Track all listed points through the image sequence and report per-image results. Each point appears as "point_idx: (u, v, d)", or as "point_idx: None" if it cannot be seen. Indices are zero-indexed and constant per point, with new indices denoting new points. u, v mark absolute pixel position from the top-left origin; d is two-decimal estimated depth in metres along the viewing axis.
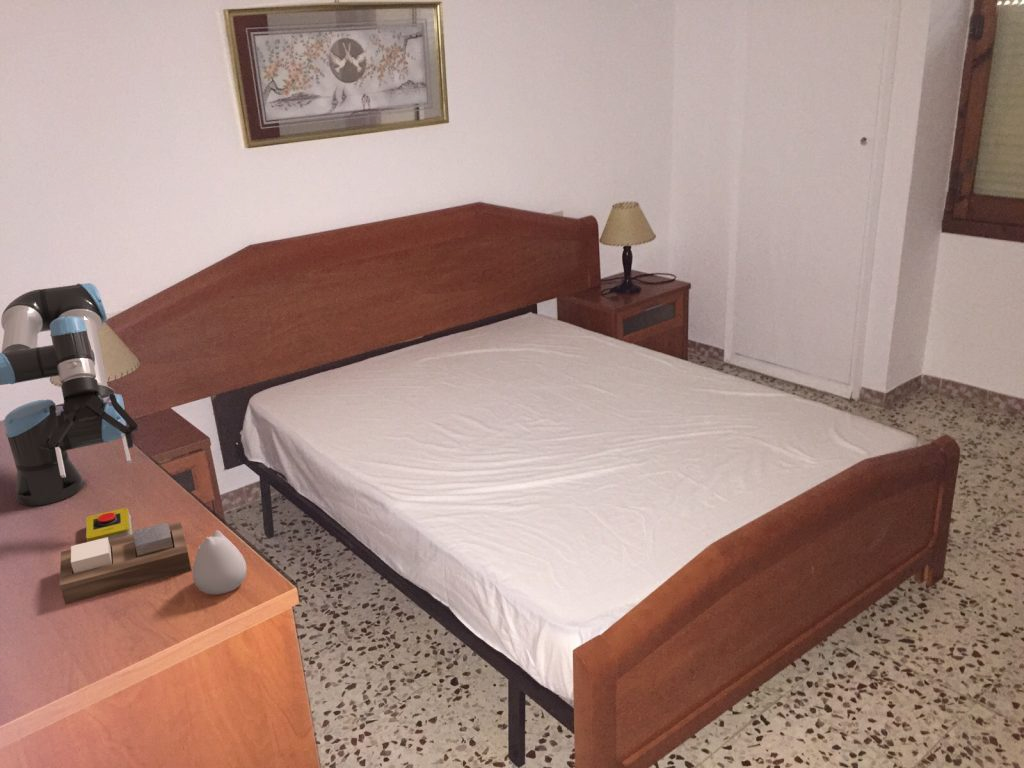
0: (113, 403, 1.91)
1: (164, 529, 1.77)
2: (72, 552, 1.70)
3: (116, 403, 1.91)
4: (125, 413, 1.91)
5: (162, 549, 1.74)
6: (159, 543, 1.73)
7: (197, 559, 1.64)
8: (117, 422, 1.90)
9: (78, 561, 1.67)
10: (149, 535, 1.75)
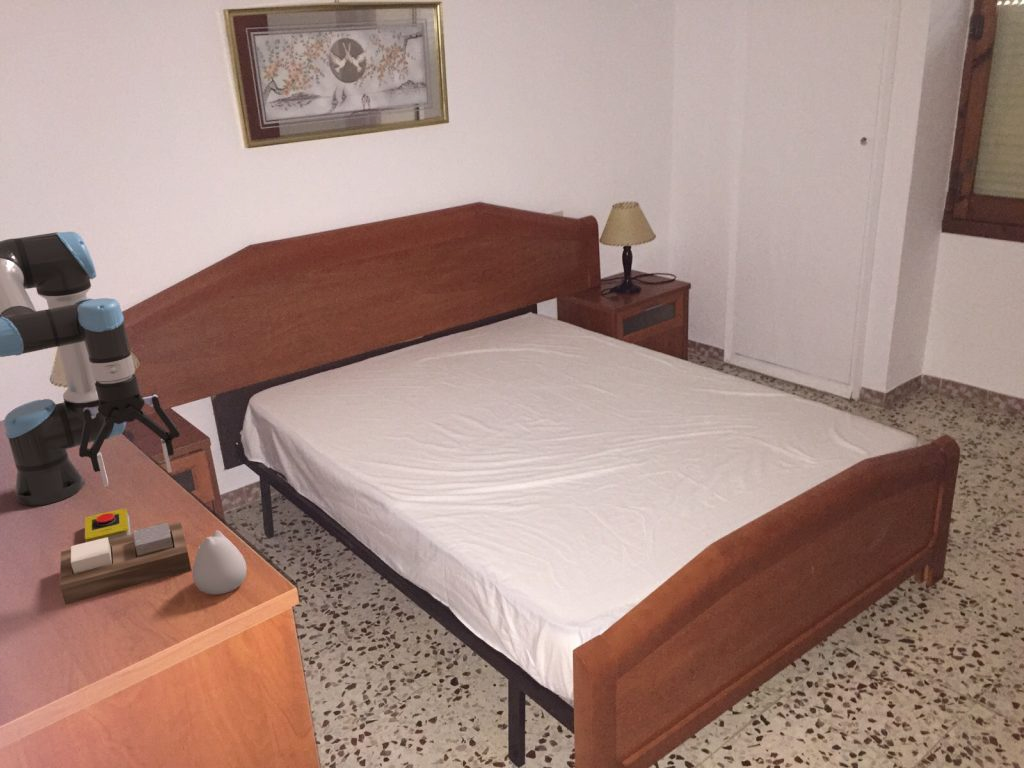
0: (155, 408, 1.67)
1: (164, 529, 1.77)
2: (72, 552, 1.70)
3: (159, 408, 1.67)
4: (167, 420, 1.69)
5: (162, 549, 1.74)
6: (159, 543, 1.73)
7: (197, 559, 1.64)
8: (158, 430, 1.69)
9: (78, 561, 1.67)
10: (149, 535, 1.75)
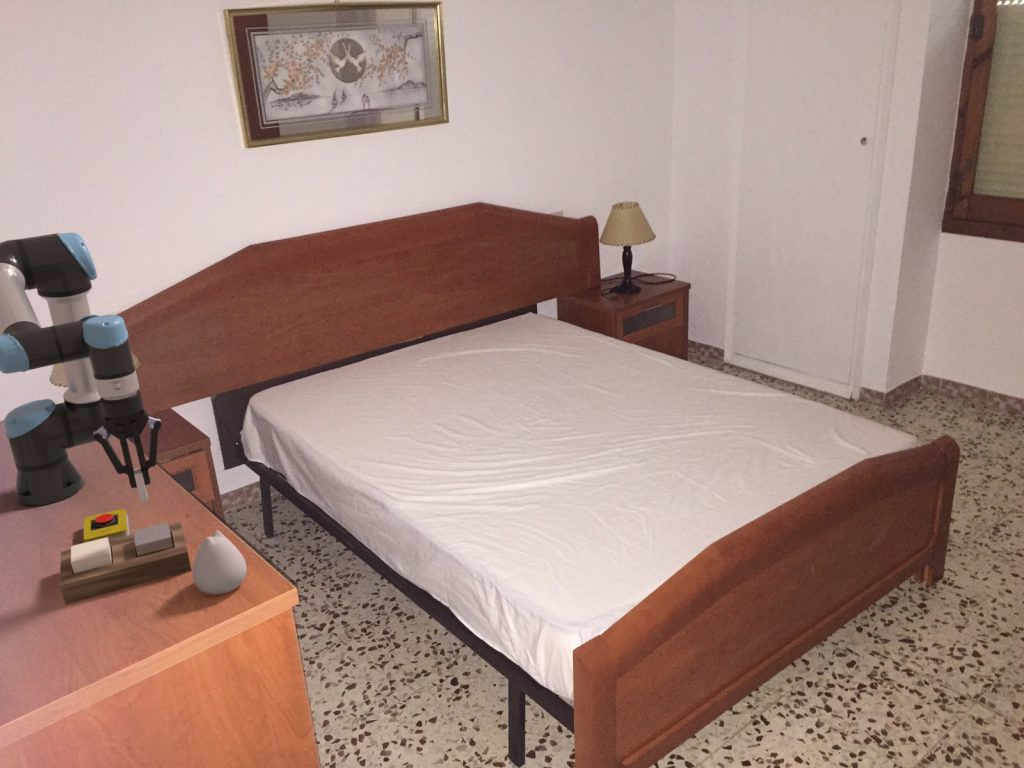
0: (153, 431, 1.68)
1: (164, 529, 1.77)
2: (72, 552, 1.70)
3: (156, 433, 1.68)
4: (155, 447, 1.69)
5: (162, 549, 1.74)
6: (159, 543, 1.73)
7: (197, 559, 1.64)
8: (142, 456, 1.68)
9: (78, 561, 1.67)
10: (149, 535, 1.75)
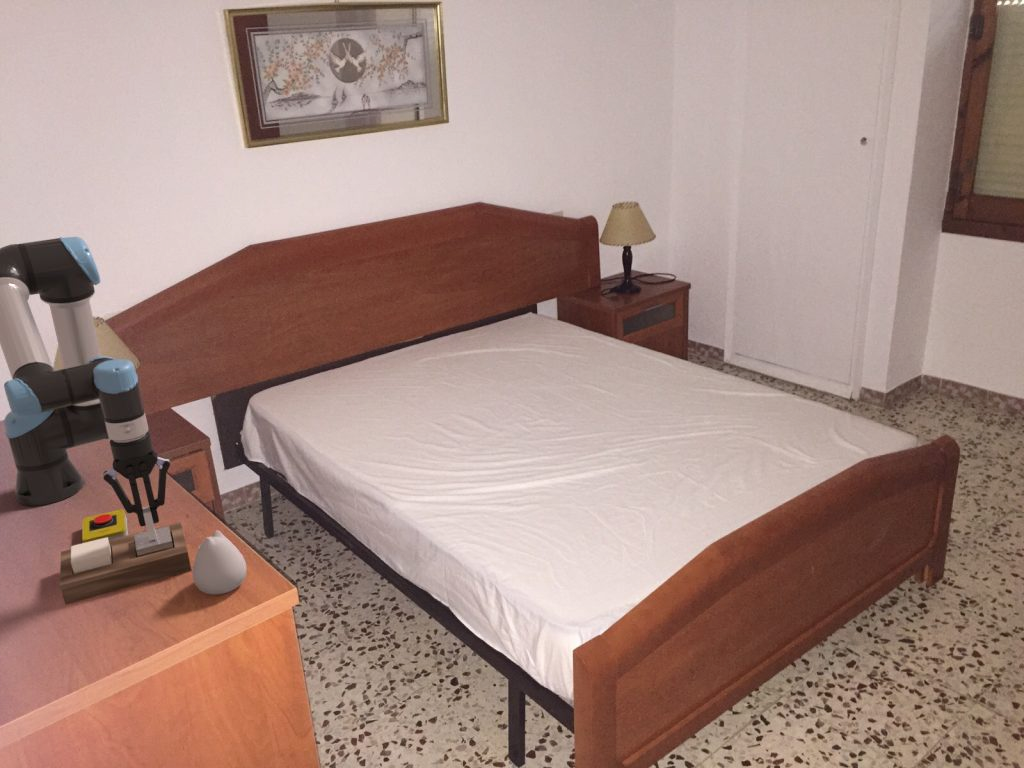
0: (162, 471, 1.71)
1: (165, 533, 1.78)
2: (72, 552, 1.70)
3: (164, 473, 1.72)
4: (163, 487, 1.72)
5: None
6: (160, 547, 1.74)
7: (197, 559, 1.64)
8: (151, 496, 1.72)
9: (78, 561, 1.67)
10: None
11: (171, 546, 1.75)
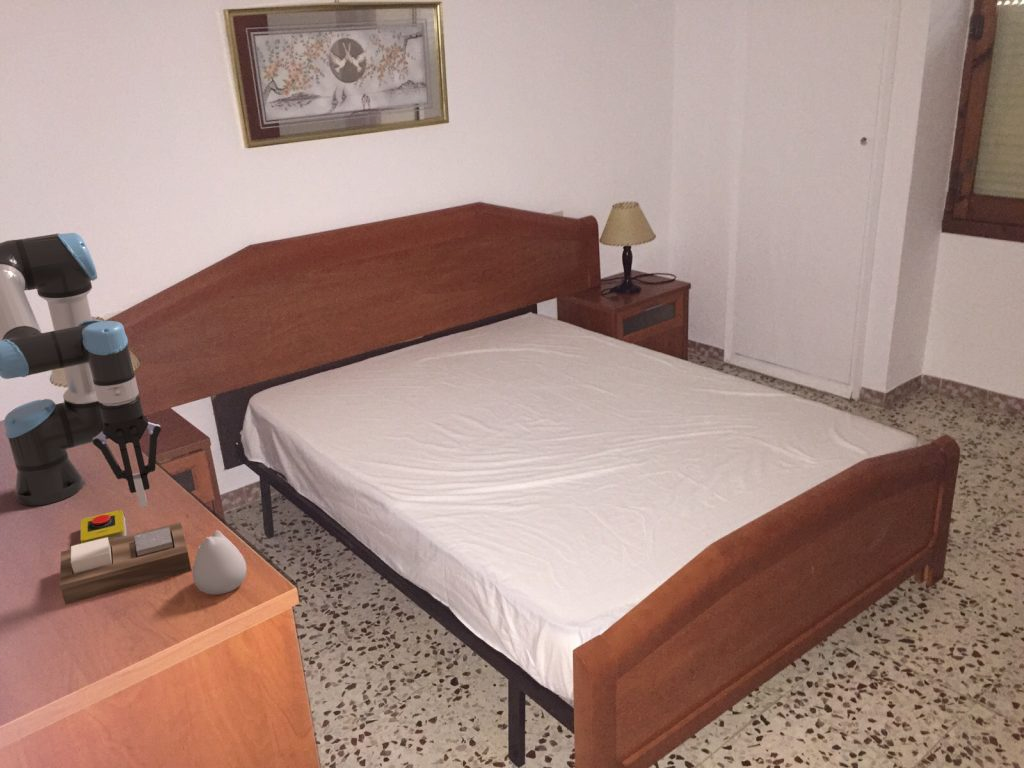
0: (152, 436, 1.68)
1: (165, 534, 1.78)
2: (72, 552, 1.70)
3: (155, 438, 1.69)
4: (154, 452, 1.70)
5: None
6: (160, 548, 1.74)
7: (197, 559, 1.64)
8: (141, 461, 1.69)
9: (78, 561, 1.67)
10: (150, 540, 1.75)
11: (171, 547, 1.75)
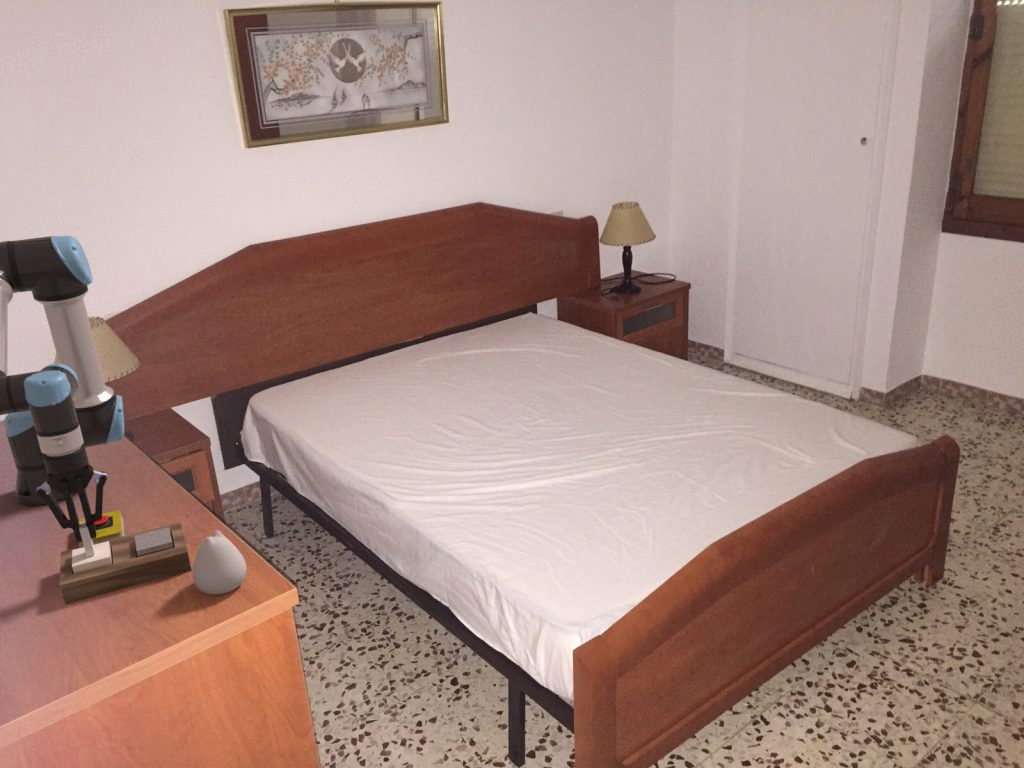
0: (98, 485, 1.67)
1: (165, 534, 1.78)
2: (73, 556, 1.70)
3: (101, 487, 1.67)
4: (100, 501, 1.68)
5: None
6: (160, 548, 1.74)
7: (197, 559, 1.64)
8: (87, 511, 1.67)
9: (80, 565, 1.67)
10: (150, 540, 1.75)
11: (171, 547, 1.75)
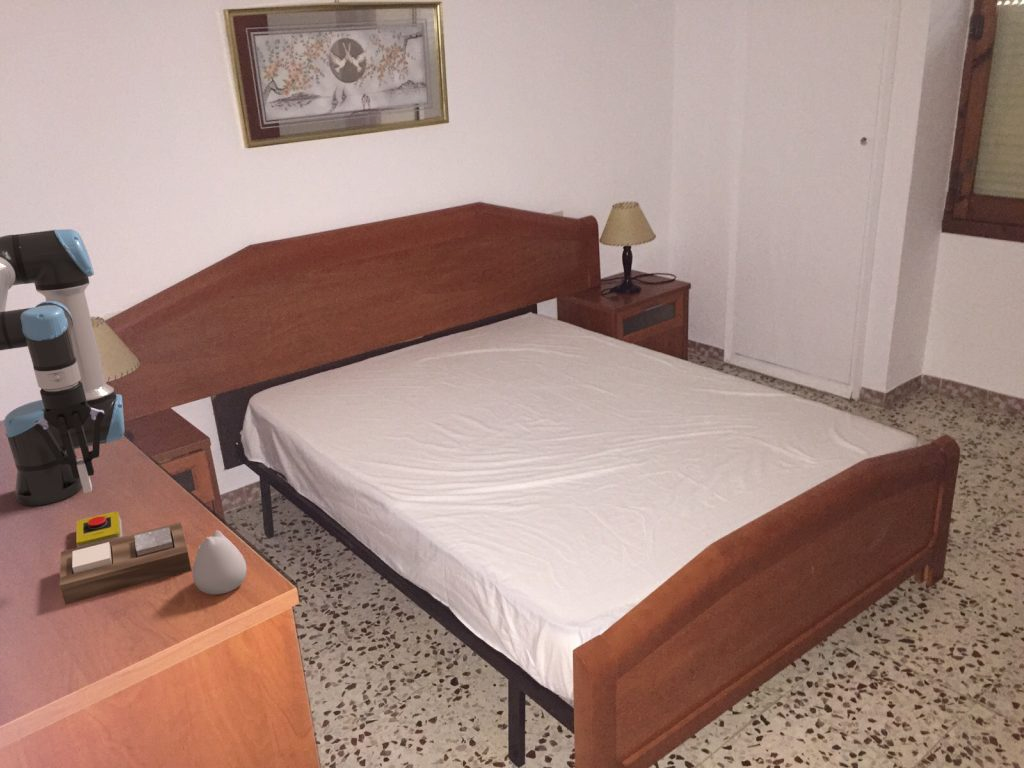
0: (96, 422, 1.67)
1: (165, 534, 1.78)
2: (73, 557, 1.70)
3: (98, 424, 1.67)
4: (98, 438, 1.68)
5: None
6: (160, 548, 1.74)
7: (197, 559, 1.64)
8: (85, 447, 1.68)
9: (80, 566, 1.68)
10: (150, 540, 1.75)
11: (171, 547, 1.75)
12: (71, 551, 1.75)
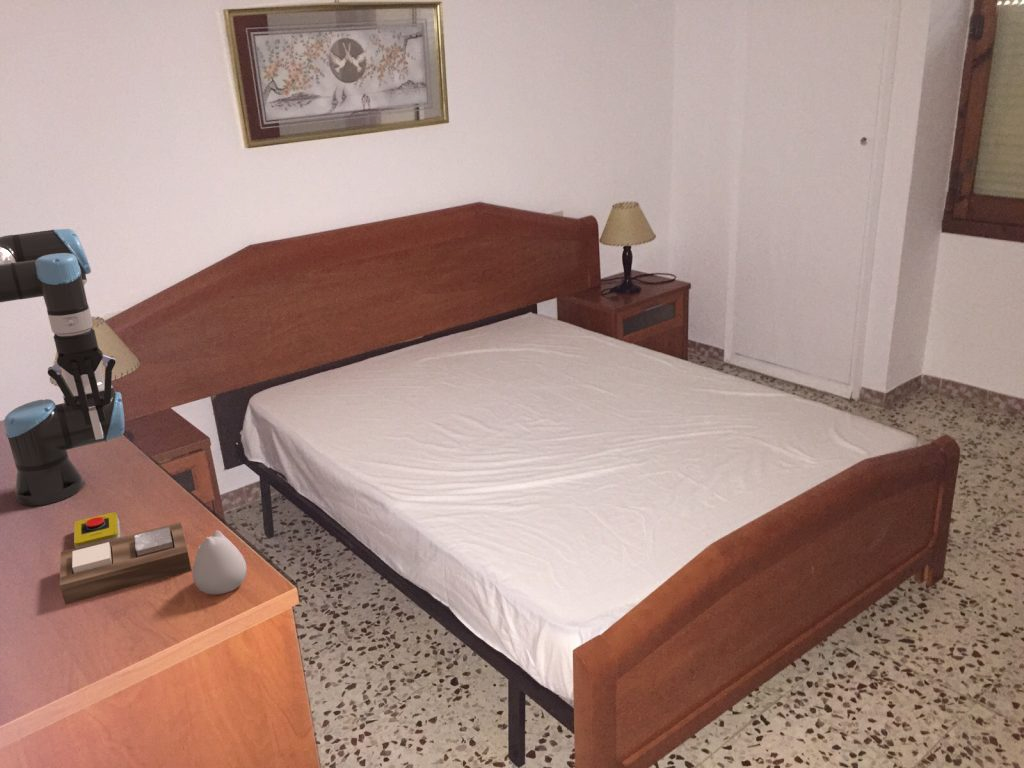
0: (107, 369, 1.72)
1: (165, 534, 1.78)
2: (73, 557, 1.70)
3: (110, 371, 1.72)
4: (109, 385, 1.73)
5: None
6: (160, 548, 1.74)
7: (197, 559, 1.64)
8: (97, 393, 1.72)
9: (80, 566, 1.68)
10: (150, 540, 1.75)
11: (171, 547, 1.75)
12: (71, 551, 1.75)
